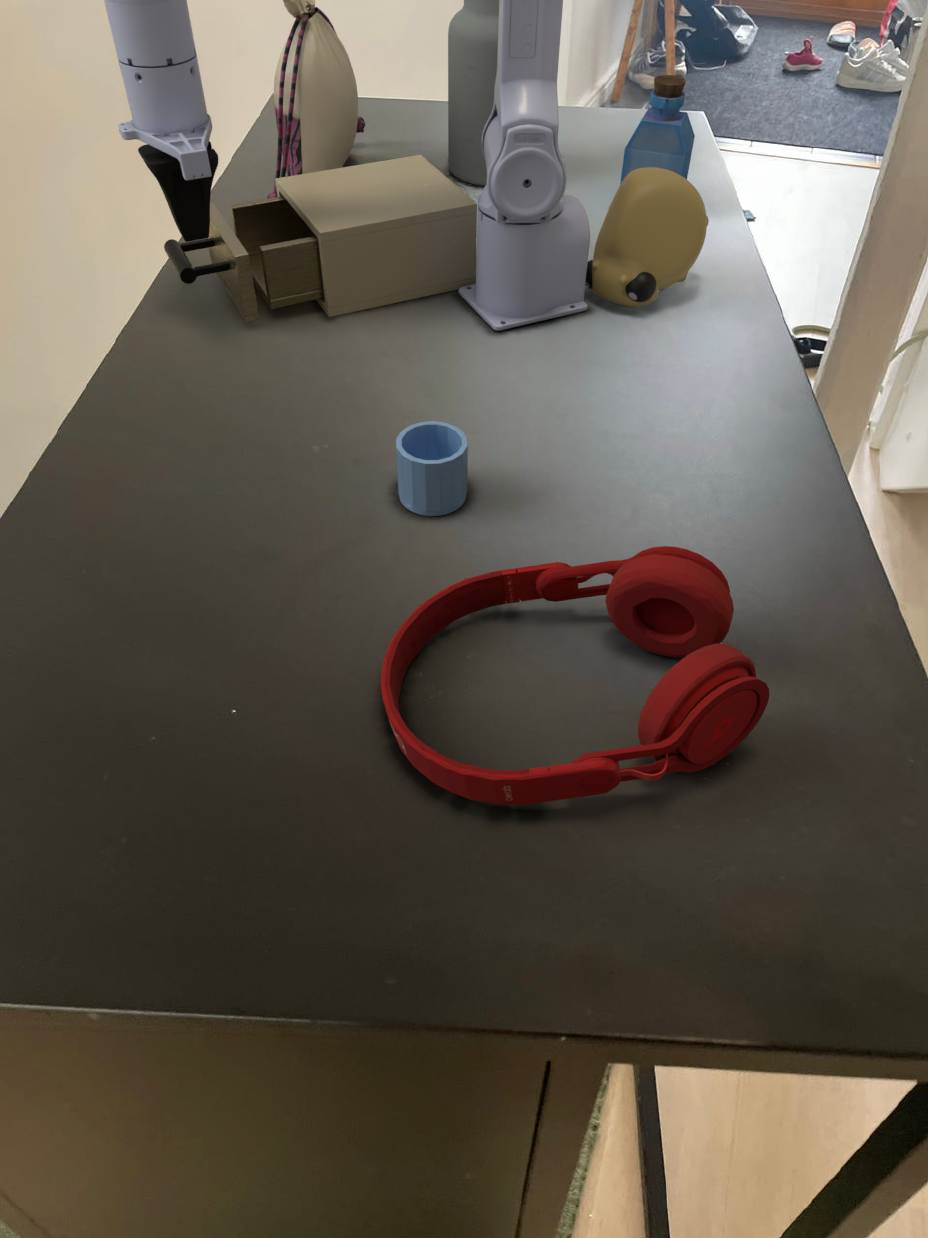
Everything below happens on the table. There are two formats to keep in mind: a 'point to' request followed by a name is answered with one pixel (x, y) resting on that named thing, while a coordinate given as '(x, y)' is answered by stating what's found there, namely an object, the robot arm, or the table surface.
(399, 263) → the wooden drawer box
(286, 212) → the drawer
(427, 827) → the table surface
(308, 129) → the pouch
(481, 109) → the water bottle
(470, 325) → the table surface
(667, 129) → the blue corked bottle
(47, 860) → the table surface
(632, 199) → the tan rounded piece
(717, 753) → the headphones
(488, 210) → the robot arm
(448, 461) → the cup
